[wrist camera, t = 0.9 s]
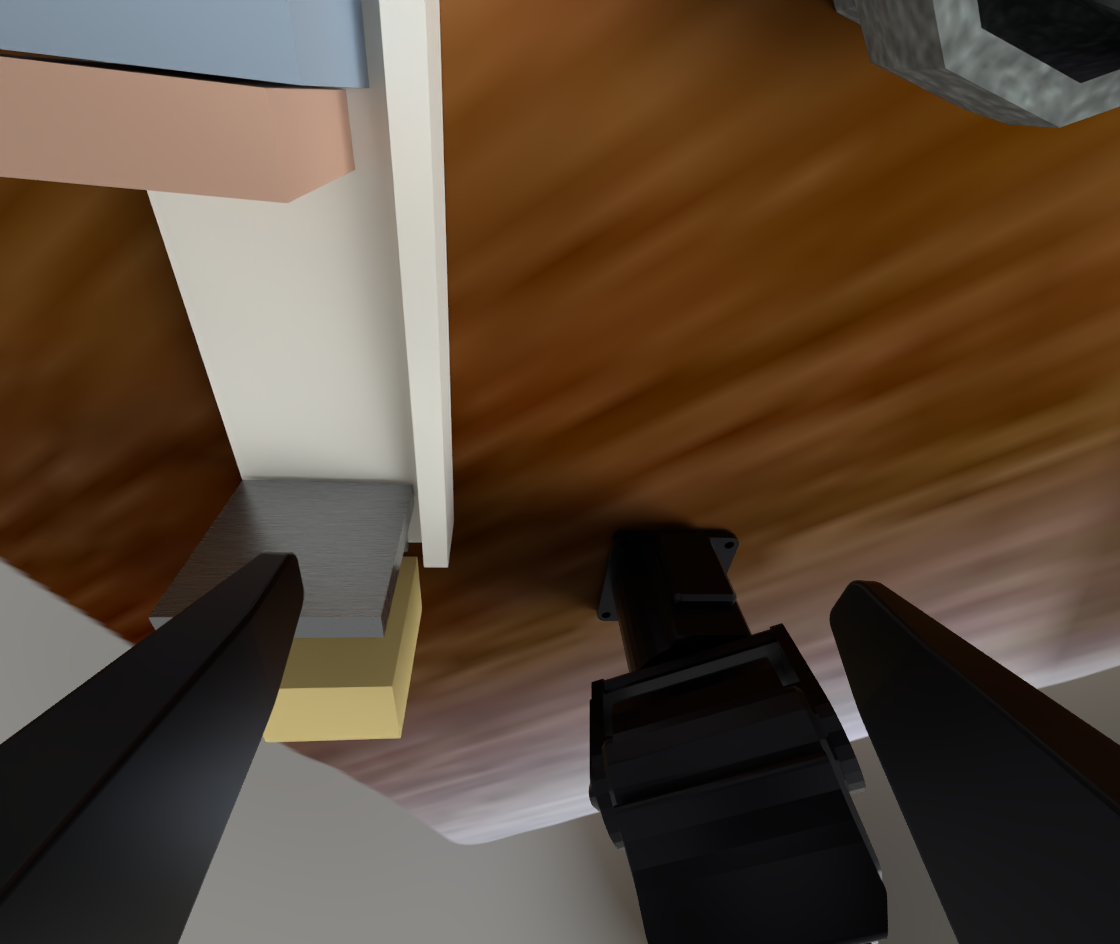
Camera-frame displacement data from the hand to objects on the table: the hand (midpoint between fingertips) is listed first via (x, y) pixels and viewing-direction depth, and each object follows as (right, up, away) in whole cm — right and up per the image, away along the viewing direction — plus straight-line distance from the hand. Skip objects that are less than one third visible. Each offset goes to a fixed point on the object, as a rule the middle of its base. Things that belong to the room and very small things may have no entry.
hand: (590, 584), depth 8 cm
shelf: (-8, +8, +10) cm, 15 cm away
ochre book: (-11, -4, +18) cm, 21 cm away
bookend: (-10, 0, +13) cm, 16 cm away
